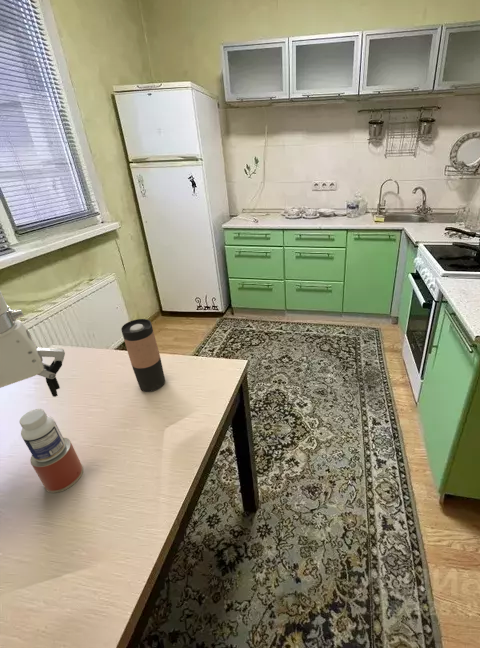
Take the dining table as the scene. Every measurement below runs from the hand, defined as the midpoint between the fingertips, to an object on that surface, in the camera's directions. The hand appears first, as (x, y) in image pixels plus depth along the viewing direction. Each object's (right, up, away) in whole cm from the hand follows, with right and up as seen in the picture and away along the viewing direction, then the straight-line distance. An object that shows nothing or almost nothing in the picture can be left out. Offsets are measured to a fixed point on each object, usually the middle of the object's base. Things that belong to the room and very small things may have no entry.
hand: (24, 404), depth 60 cm
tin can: (+1, -19, +9) cm, 21 cm away
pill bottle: (+1, -12, +6) cm, 13 cm away
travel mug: (+9, -5, +36) cm, 37 cm away
